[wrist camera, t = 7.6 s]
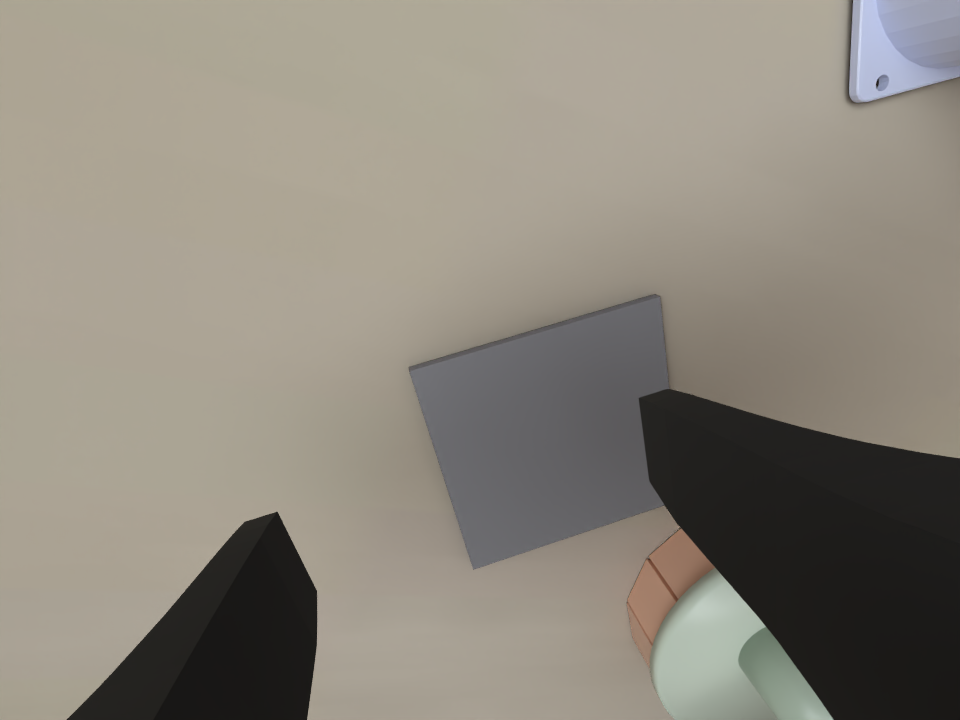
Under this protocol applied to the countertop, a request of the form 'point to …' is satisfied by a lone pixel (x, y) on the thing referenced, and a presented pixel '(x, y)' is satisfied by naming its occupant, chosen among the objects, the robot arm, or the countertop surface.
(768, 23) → the countertop surface
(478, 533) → the mat
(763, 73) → the countertop surface
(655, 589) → the bowl
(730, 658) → the lid
